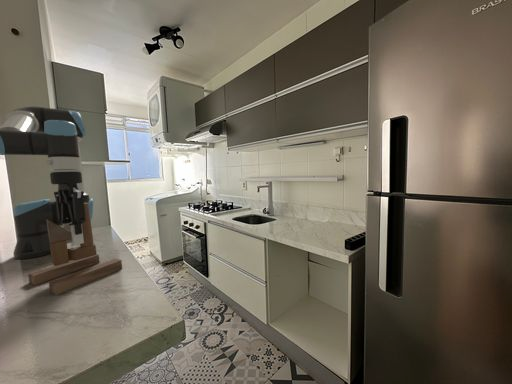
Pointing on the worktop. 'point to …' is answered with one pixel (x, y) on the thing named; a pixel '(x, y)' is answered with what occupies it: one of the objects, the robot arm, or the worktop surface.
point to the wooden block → (60, 236)
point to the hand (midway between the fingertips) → (74, 243)
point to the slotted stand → (77, 277)
